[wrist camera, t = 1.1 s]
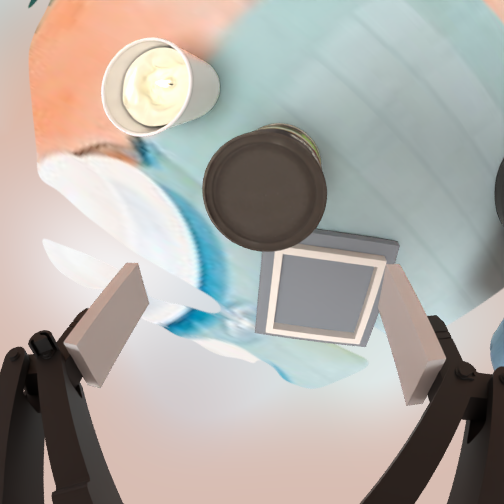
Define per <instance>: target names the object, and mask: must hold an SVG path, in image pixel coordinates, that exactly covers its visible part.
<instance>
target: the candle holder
mask: <svg viewBox="0 0 504 504" xmlns="http://www.w3.org/2000/svg"><path fill="white" fill-rule="evenodd" d="M219 92H220V82H219V78H218V75H217V73H216V71H215V70H214V69H213V67H212V66H211V65H209V64H208V63H207V62H205V61H204V60H202V59H200V58H199V57H197V56H195V55H193V54H191V53H189V52H187V51H186V50H184V49H182V48H180V47H178V46H176V45H175V44H174V43H172V42H170V41H168V40H165V39H161V38H143V39H139V40H136V41H134V42H132V43H130V44H128V45H127V46H125V47H124V48H122V49H121V50H120V51H119V52H118V53H117V54H116V55H115V56H114V58H113V59H112V60H111V62H110V63H109V65H108V67H107V69H106V71H105V74H104V77H103V81H102V88H101V96H102V103H103V107H104V110H105V112H106V114H107V116H108V118H109V119H110V121H111V122H112V123H113V124H114V125H115V126H116V127H117V128H118V129H119V130H121V131H123V132H124V133H127V134H129V135H133V136H140V137H144V136H151V135H155V134H158V133H160V132H162V131H164V130H166V129H169V128H172V127H175V126H178V125H180V124H183V123H186V122H189V121H192V120H195V119H197V118H200V117H202V116H203V115H205V114H206V113H208V112H209V111H210V110H211V109H212V108H213V106H214V105H215V103H216V101H217V99H218V96H219Z"/></svg>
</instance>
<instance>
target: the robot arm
mask: <svg viewBox="0 0 504 504" xmlns="http://www.w3.org/2000/svg"><path fill="white" fill-rule="evenodd" d="M495 202H496V209H497V213H498V216H499V219H500V221H501V223H502V224H503V226H504V160H503V162H502V164H501V166H500V169H499V172H498V176H497V180H496V187H495ZM148 304H149V301H148V298H147V294H146V291H145V287H144V284H143V280H142V276H141V273H140V269H139V265H138V263H126V264H125V265H124V266H123V268H122V269H121V270H120V271H119V272H118V273H117V275H116V276H115V277H114V278H113V279H112V281H111V282H110V283H109V284H108V286H107V287H106V288H105V289H104V290H103V292H102V293H101V294H100V295H99V297H98V298H97V299H96V300H95V302H94V303H93V304H92V305H91V307H90V308H86V309H85V310H83V311H82V312H80V313H79V314H78V315H77V317H76V318H75V319H74V321H73V322H72V323H71V324H70V325H69V327H68V328H67V330H66V331H65V332H64V333H63V335H62V336H61V337H60V338H59V340H58V341H57V342H56V341H55V339H54V337H53V335H52V333H51V332H50V331H46V330H43V331H39V332H38V333H35V334H34V335H33V336H32V337H31V338H30V340H29V343H28V345H29V347H30V348H31V350H32V352H33V353H34V354H31V355H28V354H27V353H26V351H25V350H24V348H22V347H16V348H13V349H11V350H10V351H9V352H8V353H7V354H6V356H5V359H4V362H3V365H2V369H1V372H0V504H44V487H43V485H44V484H43V465H44V439H45V440H46V446H47V450H48V455H49V460H50V465H51V469H52V473H53V477H54V481H55V484H56V491H54V492H52V501H53V504H123V502H122V500H121V498H120V495H119V493H118V491H117V489H116V486H115V484H114V482H113V479H112V477H111V474H110V472H109V470H108V467H107V464H106V462H105V459H104V456H103V453H102V451H101V448H100V445H99V442H98V439H97V436H96V433H95V430H94V427H93V424H92V420H91V417H90V414H89V410H88V407H87V403H86V399H85V396H84V392H83V388H82V386H81V384H80V381H81V379H82V377H83V378H84V380H85V381H86V383H87V384H88V385H90V386H94V387H98V388H101V386H102V385H103V383H104V381H105V379H106V377H107V375H108V374H109V372H110V370H111V368H112V366H113V365H114V363H115V361H116V359H117V357H118V356H119V354H120V352H121V350H122V349H123V347H124V345H125V343H126V342H127V340H128V338H129V337H130V335H131V333H132V331H133V330H134V328H135V326H136V325H137V323H138V321H139V319H140V318H141V316H142V314H143V313H144V311H145V309H146V308H147V306H148ZM378 309H379V312H380V315H381V319H382V322H383V325H384V328H385V331H386V334H387V337H388V341H389V344H390V347H391V350H392V354H393V357H394V361H395V364H396V368H397V371H398V375H399V378H400V382H401V386H402V390H403V394H404V398H405V402H406V405H407V406H408V405H415V404H422V403H423V402H424V400H425V399H426V397H427V395H428V398H429V401H430V403H429V405H428V407H427V408H426V410H425V412H424V413H423V415H422V417H421V419H420V421H419V422H418V424H417V426H416V427H415V429H414V431H413V432H412V434H411V435H410V437H409V438H408V440H407V441H406V443H405V444H404V446H403V448H402V449H401V450H400V452H399V453H398V455H397V456H396V458H395V459H394V460H393V462H392V463H391V465H390V466H389V467H388V469H387V470H386V471H385V473H384V474H383V475H382V477H381V478H380V479H379V481H378V482H377V483H376V485H375V486H374V487H373V488H372V489H371V491H370V492H369V493H368V494H367V496H366V497H365V498H364V499H363V500H362V501H361V503H360V504H415V502H416V501H417V499H418V498H419V496H420V494H421V493H422V491H423V490H424V488H425V487H426V485H427V483H428V482H429V480H430V478H431V477H432V475H433V473H434V472H435V470H436V468H437V466H438V465H439V463H440V461H441V459H442V457H443V455H444V454H445V452H446V449H447V448H448V446H449V444H450V442H451V440H452V438H453V436H454V434H455V432H456V429H457V427H458V425H459V423H460V421H461V419H463V420H466V426H465V432H464V437H463V443H462V448H461V453H460V457H459V462H458V466H457V470H456V474H455V478H454V482H453V486H452V489H451V492H450V496H449V499H448V502H447V504H504V319H503V321H502V322H501V324H500V325H499V327H498V329H497V330H496V331H495V333H494V335H493V337H492V340H491V344H490V350H491V361H492V365H493V368H494V373H493V374H483V373H478V372H476V369H475V368H474V367H473V366H472V365H471V364H469V363H468V362H464V361H463V360H462V358H461V356H460V354H459V352H458V350H457V347H456V345H455V343H454V341H453V339H451V335H450V333H449V332H448V329H447V327H446V325H445V323H444V322H443V321H442V320H441V319H440V318H439V317H438V316H437V315H434V316H427V315H426V313H425V311H424V309H423V307H422V305H421V303H420V301H419V299H418V297H417V295H416V294H415V292H414V290H413V288H412V286H411V284H410V282H409V280H408V278H407V277H406V275H405V273H404V271H403V269H402V267H401V266H400V264H386V268H385V273H384V279H383V284H382V290H381V295H380V300H379V304H378ZM24 390H25V391H24Z"/></svg>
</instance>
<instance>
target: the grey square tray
mask: <svg viewBox="0 0 504 504" xmlns="http://www.w3.org/2000/svg"><path fill="white" fill-rule="evenodd" d="M399 247H400V246H399V244H398V242H397V241H392V240H386V239H380V238H373V237H367V236H360V235H354V234H347V233H340V232H333V231H326V230H319V229H315V230H314V231H313V232H312V233H311V234H310V235H309V236H308V237H307V238H306V239H305V240H303V241H302V242H300V243H298V244H297V245H295V246H292V247H290V248H288V249H284V250H281V251H274V252H262V260H261V272H260V283H259V294H258V305H257V315H256V326H255V333H259V334H266V335H272V336H279V337H286V338H293V339H300V340H308V341H316V342H324V343H333V344H342V345H352V346H361V347H366V345H367V342H368V340H369V337H370V335H371V332H372V329H373V327H374V324H375V321H376V319H377V316H378V313H379V309H378V304H379V300H380V295H381V290H382V284H383V279H384V273H385V268H386V264H395V261H396V257H397V254H398V250H399Z"/></svg>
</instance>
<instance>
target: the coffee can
mask: <svg viewBox="0 0 504 504" xmlns="http://www.w3.org/2000/svg"><path fill="white" fill-rule="evenodd" d="M202 189H203V200H204V204H205V208H206V211H207V213H208V215H209V217H210V219H211V221H212V222H213V224H214V225H215V227H216V228H217V229H218V230H219V231H220V232H221V233H222V234H223V235H224V236H225V237H226V238H228V239H229V240H231V241H232V242H234V243H236V244H238V245H240V246H242V247H244V248H247V249H251V250H256V251H262V252H274V251H281V250H284V249H288V248H290V247H292V246H295V245H297V244H298V243H300V242H302V241H303V240H305V239H306V238H307V237H308V236H309V235H310V234H311V233H312V232H313V231H314V230H315V228H316V227H317V226H318V224H319V222H320V221H321V218H322V216H323V213H324V210H325V206H326V201H327V187H326V182H325V178H324V175H323V172H322V168H321V158H320V154H319V150H318V148H317V146H316V144H315V143H314V141H313V140H312V139H311V137H310V136H309V135H307V134H306V133H305V132H304V131H302V130H301V129H299V128H297V127H295V126H292V125H288V124H281V123H279V124H270V125H266V126H263V127H261V128H259V129H257V130H255V131H253V132H250V133H246V134H243V135H240V136H237V137H235V138H233V139H232V140H230V141H228V142H227V143H225V144H224V145H223V146H222V147H220V148H219V150H218V151H217V152H216V153H215V154H214V155H213V157H212V158H211V160H210V162H209V164H208V166H207V168H206V171H205V174H204V178H203V188H202Z"/></svg>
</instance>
